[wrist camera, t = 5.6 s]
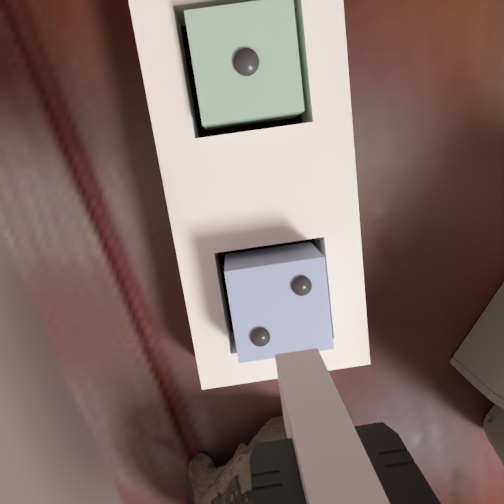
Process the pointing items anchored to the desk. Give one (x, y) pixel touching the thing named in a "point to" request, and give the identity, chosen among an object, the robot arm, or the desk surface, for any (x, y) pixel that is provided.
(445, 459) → the desk surface
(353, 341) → the tile panel
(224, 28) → the tile one
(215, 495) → the grey rock
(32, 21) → the desk surface
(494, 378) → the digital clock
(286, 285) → the tile two
